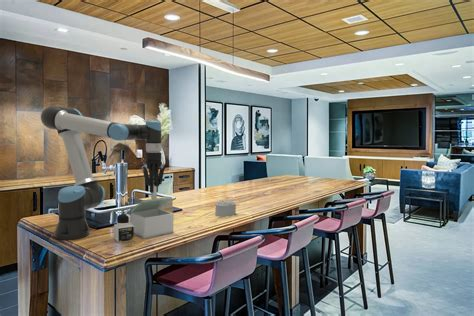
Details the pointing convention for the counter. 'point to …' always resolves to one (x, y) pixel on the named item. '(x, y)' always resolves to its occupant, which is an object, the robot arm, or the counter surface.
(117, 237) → the medicine bottle
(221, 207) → the lumpy-topped squat cylinder
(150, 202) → the lid
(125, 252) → the counter surface
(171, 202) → the supplement box
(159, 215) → the storage box
